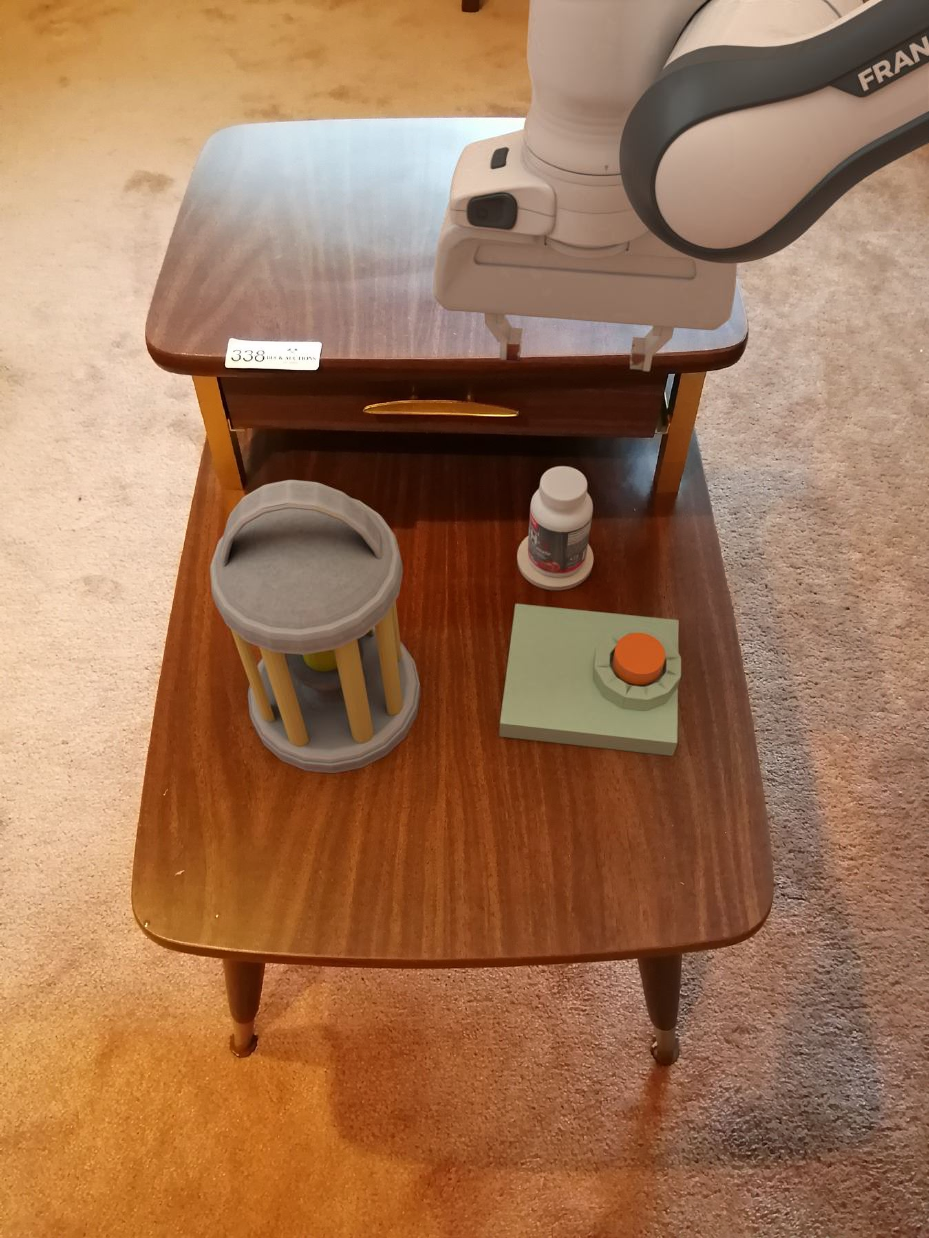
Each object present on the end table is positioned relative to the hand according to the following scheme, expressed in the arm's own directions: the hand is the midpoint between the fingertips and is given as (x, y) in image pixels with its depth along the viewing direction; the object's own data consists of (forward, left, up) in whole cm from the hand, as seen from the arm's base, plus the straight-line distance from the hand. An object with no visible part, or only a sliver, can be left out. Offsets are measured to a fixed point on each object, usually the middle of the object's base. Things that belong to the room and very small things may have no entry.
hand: (574, 360), depth 72 cm
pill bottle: (0, 0, -23) cm, 23 cm away
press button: (-7, +13, -20) cm, 25 cm away
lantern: (+17, +17, -23) cm, 34 cm away
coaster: (0, 0, -23) cm, 23 cm away
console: (-4, +13, -23) cm, 27 cm away
